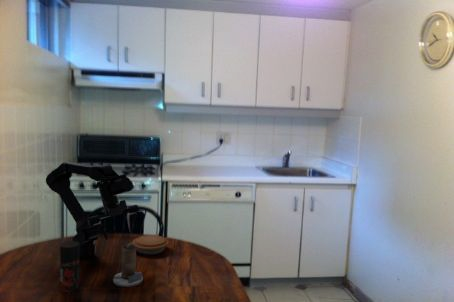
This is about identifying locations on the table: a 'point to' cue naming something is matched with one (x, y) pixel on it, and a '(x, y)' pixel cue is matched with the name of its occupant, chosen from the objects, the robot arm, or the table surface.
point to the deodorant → (69, 266)
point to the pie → (150, 244)
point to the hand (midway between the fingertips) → (119, 236)
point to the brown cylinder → (128, 260)
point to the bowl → (131, 281)
